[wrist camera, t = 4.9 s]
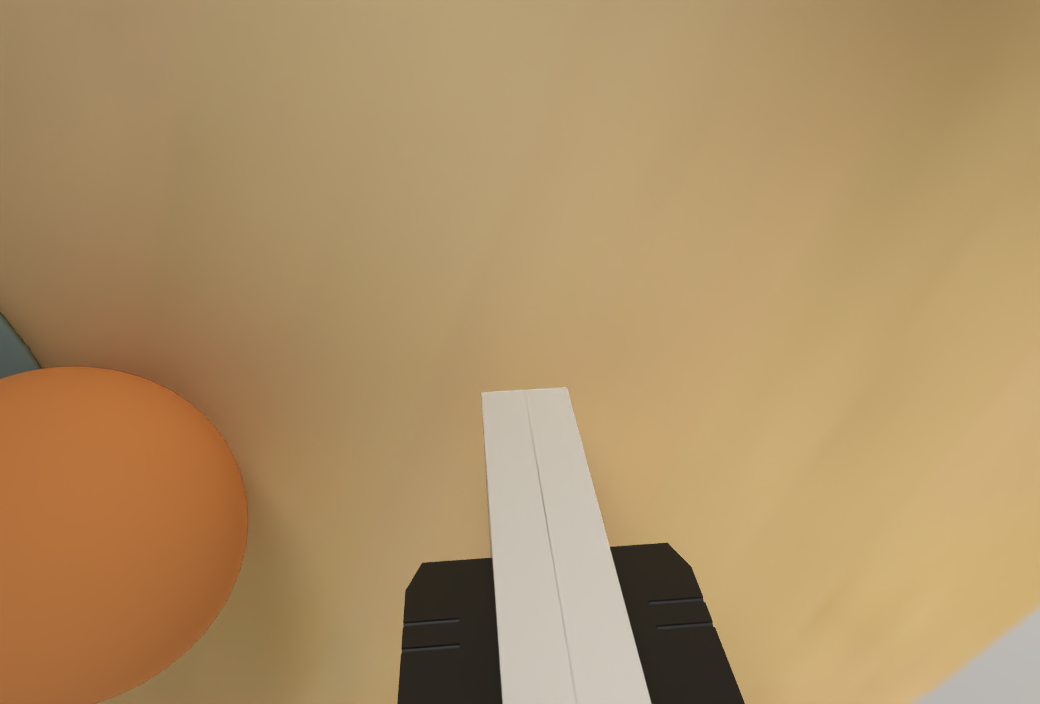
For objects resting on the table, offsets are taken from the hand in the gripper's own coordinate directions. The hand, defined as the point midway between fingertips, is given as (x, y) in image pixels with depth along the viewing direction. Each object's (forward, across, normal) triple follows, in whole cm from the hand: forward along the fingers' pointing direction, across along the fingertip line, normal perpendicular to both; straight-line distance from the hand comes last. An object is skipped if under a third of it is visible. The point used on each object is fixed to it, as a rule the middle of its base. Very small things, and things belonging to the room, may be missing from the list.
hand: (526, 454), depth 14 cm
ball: (-1, -8, 0) cm, 8 cm away
